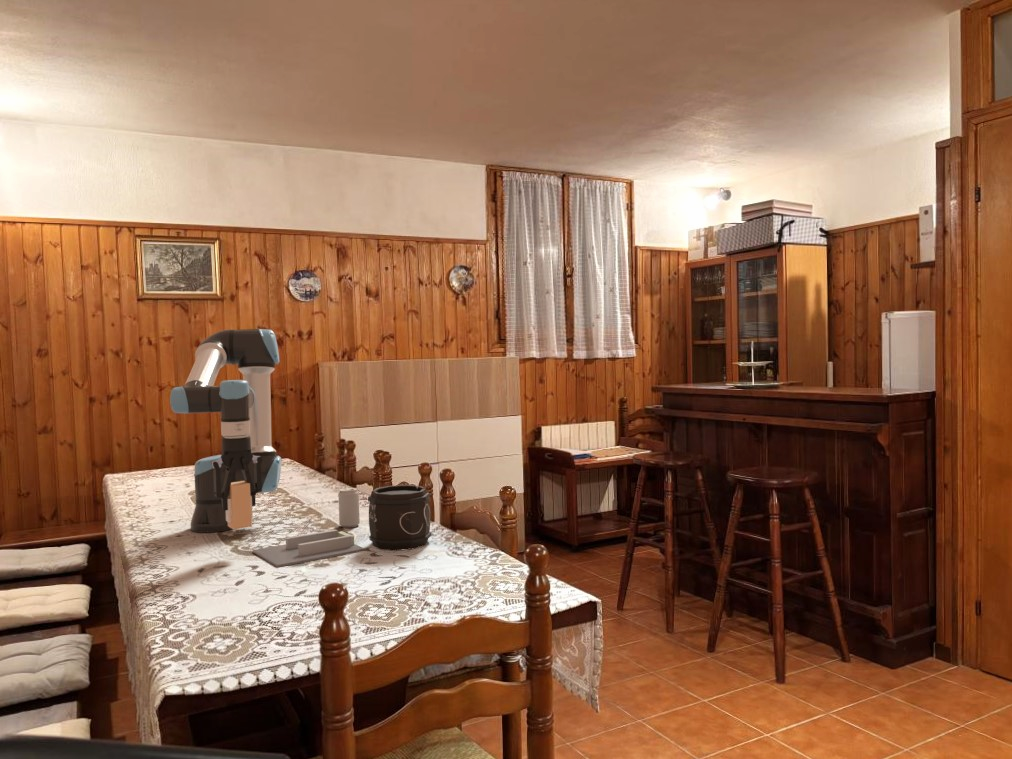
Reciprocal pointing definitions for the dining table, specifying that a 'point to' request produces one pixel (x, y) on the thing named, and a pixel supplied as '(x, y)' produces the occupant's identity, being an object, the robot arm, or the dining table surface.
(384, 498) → the wooden barrel
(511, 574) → the dining table surface
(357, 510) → the beverage can
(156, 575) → the dining table surface
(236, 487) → the block
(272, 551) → the end holder
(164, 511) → the dining table surface
